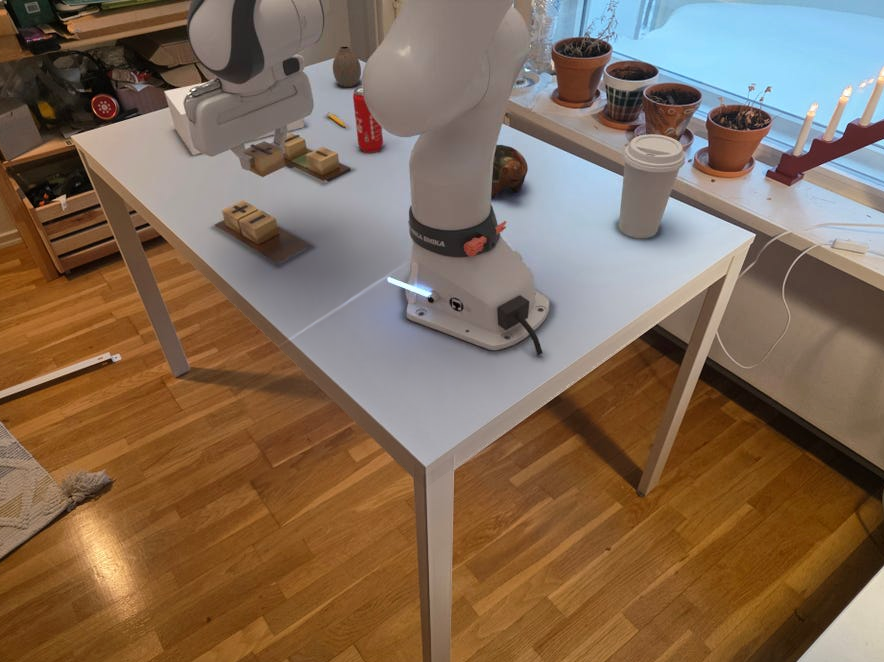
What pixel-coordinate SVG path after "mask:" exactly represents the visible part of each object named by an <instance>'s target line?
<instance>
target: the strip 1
mask: <svg viewBox="0 0 884 662" xmlns="http://www.w3.org/2000/svg"><path fill="white" fill-rule="evenodd" d="M221 213H222V216H223V220H221V221H219V222H217V223H215V224H214V226H215V227H216V228H218V229H219V230H221V231H223V232H225V233H226V234H228V235H229V236H231V237H233V238H235V239H236V240H238V241H239V242H241V243H243V244H245V245H246V246H248V247H249V248H251V249H253V250H254V251H256V252H258V253H259V254H261V255H263V256H265V257H266V258H268V259H269V260H271V261H272V262H274V263H276V264H279V263H280V262H282V261H284V260H287V258H290V257H291V256H293V255H294V254H296V253H298V252H301V251H302V250H303V249H305V248H307V247H309V246H311V244H310V243H308V242H306V241H304V240H302V239H301V238H299V237H298V236H296V235H294V234H292V233H290V232H289V231H287V230H285V229H283V228H282V227H279V226H278V222H277V218H276V217H274V216H272V215H270V214H268V213H267V212H265V211H263V210H261V209H259V208H258V207H256V206H253V205H252V204H251V203H248V202H247V201H244V199H243V200H240V201H238V202H236V203H234V204H232V205H230V206H228V207H226V208H224V209H222V210H221Z"/></svg>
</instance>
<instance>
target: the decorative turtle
mask: <svg viewBox="0 0 884 662" xmlns="http://www.w3.org/2000/svg"><path fill="white" fill-rule="evenodd" d="M528 171H529V166H528V163H527V161H526V159H525V157H524V156H523V154H522V153H521V152H520V151H518V150H517V149H516V148H514V147H512V146H508V145H504V144H497V145H496V150H495V155H494V162H493V175H492V191H491V199H494V198H495V197H497V196H498V195H499V194H501V192H502V191H504V190H506V189H508V190H509V191H511V192H512V193H513V194H518V193H520V191H521V190H522V188H523V185H524V183H525V179H526V176H527V173H528Z"/></svg>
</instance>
